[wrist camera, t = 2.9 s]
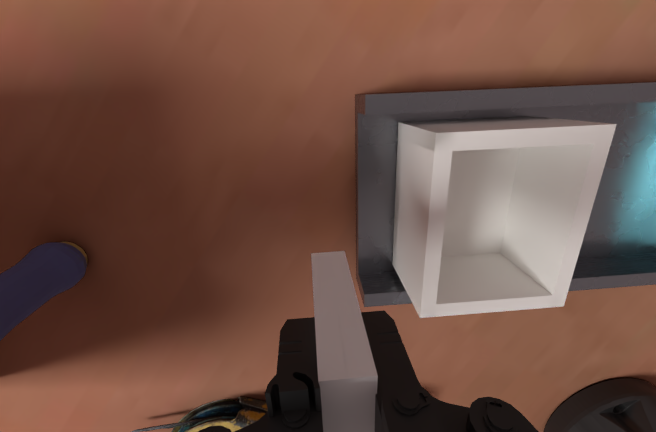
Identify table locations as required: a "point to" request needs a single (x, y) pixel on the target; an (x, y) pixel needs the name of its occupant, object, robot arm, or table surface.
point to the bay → (551, 102)
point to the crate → (493, 210)
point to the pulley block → (219, 415)
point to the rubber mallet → (38, 280)
